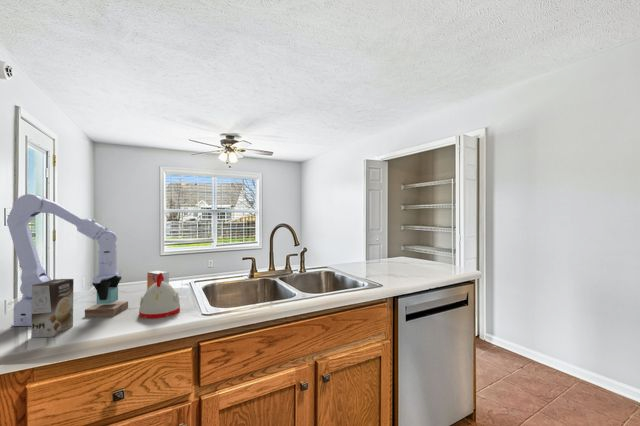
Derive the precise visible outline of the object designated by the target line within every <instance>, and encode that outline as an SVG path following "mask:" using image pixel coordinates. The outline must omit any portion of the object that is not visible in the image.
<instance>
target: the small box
mask: <svg viewBox="0 0 640 426" xmlns="http://www.w3.org/2000/svg"><path fill="white" fill-rule="evenodd" d="M159 273H162V275H163V277H164V282H166V283H168V284H169V285H170V272H169V271H163V270H153V271H147V279H146V281H147V282H146V286H147V289H146V291H147V290H148V289H149V288H150V287H151V286H152V285H153V284H155V283H156V280H157V275H159Z"/></svg>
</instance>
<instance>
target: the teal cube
mask: <svg viewBox="0 0 640 426" xmlns="http://www.w3.org/2000/svg"><path fill="white" fill-rule="evenodd" d="M118 300H119V286H117V287H109V289H108V296H107V300H100V299H99V296H98V293H97V292H96V304H111V303H113V302H115V301H118Z"/></svg>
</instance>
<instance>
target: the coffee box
mask: <svg viewBox="0 0 640 426" xmlns="http://www.w3.org/2000/svg"><path fill="white" fill-rule="evenodd" d="M73 326H74V278H60V279H59V278H56V279H51V280H50V281H46V282H42V283H38V284H35V285H32V322H31V327H30V328H31V330H30V334H31V335H30V337H31V338H52V337H55V336H57V335H58V334H61V333H62V332H65V331H66V330H69V329H71V328H72V327H73Z"/></svg>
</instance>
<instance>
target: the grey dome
mask: <svg viewBox="0 0 640 426" xmlns="http://www.w3.org/2000/svg"><path fill="white" fill-rule="evenodd" d="M180 304H181V302H180V296H179V292H176V290H175V288H174V287H173V286H172V285H171V284H170V283H169V284H168V283H166V282H164V277H163V275H162V273H159V275H157V280H156V283H155V284H153V285H152V286H151V287H150V288H149V289H148V290H147V289H146V291H145V293H144V295H143V296H140V301H139V308H138V309H139V311H138V316H139V317H140V318H143V319H152V320H153V319H161V318H167V316H168V317H171V315H172V316H174V315H176V314H178V313H179V312H180V311H181V305H180Z"/></svg>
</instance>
